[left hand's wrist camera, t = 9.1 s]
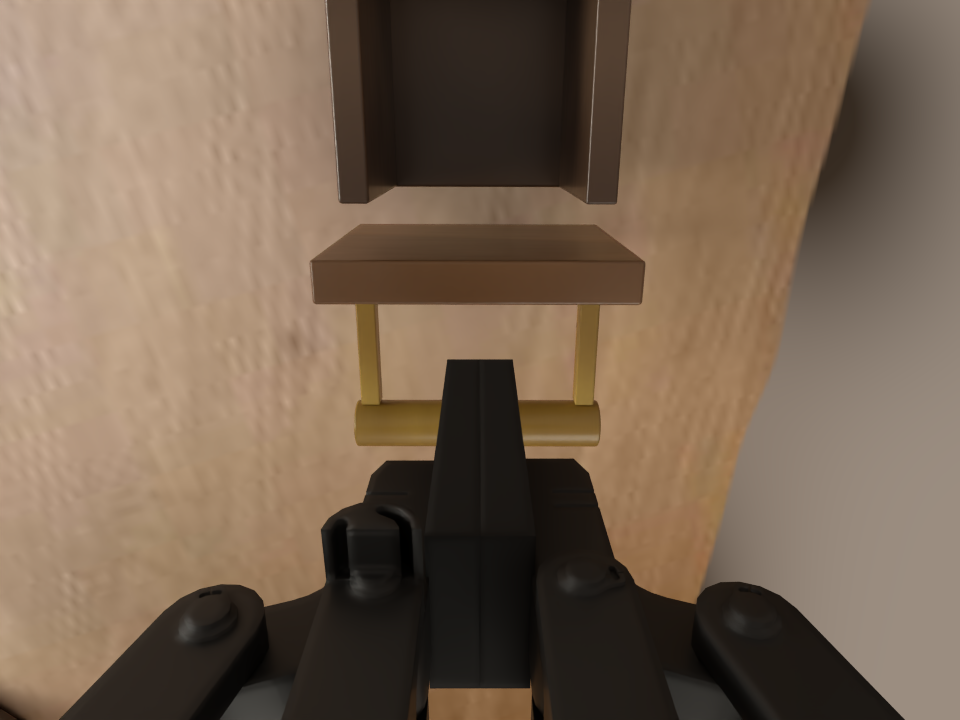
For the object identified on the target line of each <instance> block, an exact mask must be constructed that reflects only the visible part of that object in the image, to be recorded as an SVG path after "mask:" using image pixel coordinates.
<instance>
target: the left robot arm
mask: <svg viewBox="0 0 960 720" xmlns="http://www.w3.org/2000/svg"><path fill="white" fill-rule="evenodd" d="M321 535H322V544H323V553H324V563H325V572H326V583H325V586H324V587H323V588H322V589H320V590H318V591H316V592H314V593H312V594H310V595H308V596H305V597H302V598H299V599H296V600H292V601H288V602H284V603H279V604H275V605H271V606H267V607H264V604H263V600H262V599H261V598H260V597H259V595H258V594H257V593H256V592H255V591H254V590H252V589H249V588H246V587H244V586H241V585H223V584H221V585H216V586H212V587H207V588H203V589H199V590H197V591H195V592H193V593H191V594H189V595H186V596H184V597H182V598H180V599H179V600H178V601H176V602H175V603H174V604H173V605H171V606H170V607H169V608H168V609H166V610H165V611H164V612H163V613H162V614H161V615H160V616H159V617H158V618H157V619H156V620H155V621H154V622H153V623H152V624H151V625H150V626H149V627H148V628H147V629H146V630H145V631H144V633H143V634H142V635H141V636H140V637H139V638H138V639H137V640H136V641H135V642H134V643H133V644H132V645H131V646H130V647H129V648H128V649H127V650H126V651H125V652H124V653H123V654H122V655H121V656H120V657H119V658H118V659H117V660H116V661H115V663H114V664H113V665H112V666H111V667H110V668H109V669H108V670H107V671H106V672H105V673H104V674H103V675H102V676H101V677H100V678H99V679H98V680H97V681H96V682H95V683H94V684H93V685H92V686H91V687H90V688H89V689H88V690H87V692H86V693H85V694H84V695H83V696H82V697H81V698H80V699H79V700H78V701H77V702H76V703H75V704H74V705H73V706H72V707H71V708H70V709H69V710H68V711H67V712H66V713H65V714H64V715H63V716H62V717H61V718H60V719H59V720H429V706H428V690H429V679H430V688H530V679H531V687H532V706H531V720H905V719H904V718H903V717H902V716H901V715H900V714H899V713H898V712H897V711H896V710H895V709H894V708H893V707H892V706H891V705H890V704H889V703H888V702H887V701H886V700H885V699H884V698H883V697H882V696H881V695H880V694H879V693H878V692H877V691H876V690H875V689H874V688H873V687H872V686H871V685H870V683H869V682H868V681H866V679H865V678H864V677H863V676H862V675H861V674H860V673H859V672H858V671H857V670H856V669H855V668H854V667H853V666H852V665H851V664H850V663H849V662H848V661H847V660H846V659H845V658H844V657H843V656H842V655H841V654H840V653H839V652H838V651H837V650H836V649H835V648H834V647H833V645H832V644H831V643H830V642H829V641H828V640H827V639H826V638H825V637H824V636H823V635H822V634H821V633H820V632H819V631H818V630H817V629H816V628H815V627H814V626H813V625H812V624H811V623H810V622H809V621H808V620H807V619H806V618H805V617H804V616H803V615H802V614H801V613H800V612H799V611H798V610H797V609H796V608H795V607H794V606H793V605H791V604H790V603H789V602H788V601H786V600H785V599H784V598H782V597H781V596H780V595H778V594H775V593H773V592H771V591H769V590H767V589H765V588H763V587H760V586H756V585H752V584H747V583H743V582H720V583H718V584H715V585H712V586H710V587H707V588H705V590H704V591H703V592H702V593H701V594H700V595H699V597H698V598H697V604H691V603H687V602H683V601H679V600H674V599H670V598H666V597H663V596H660V595H657V594H654V593H651V592H649V591H647V590H645V589H643V588H641V587H639V586H637V585H636V584H635V582H634V579H633V578H632V576H631V574H630V573H629V571H628V570H627V568H626V567H625V566H624V565H622V564H621V563H620V562H618V561H617V560H616V559H615V558H614V555H613V552H612V548H611V545H610V542H609V538H608V535H607V532H606V528H605V525H604V522H603V519H602V515H601V512H600V509H599V507H598V502H597V499H596V495H595V493H594V489H593V485H592V482H591V479H590V476H589V473H588V472H587V471H586V470H585V469H584V468H583V467H582V466H581V465H580V464H579V463H577V462H576V461H575V460H574V459H526V457H525V450H524V442H523V435H522V427H521V419H520V412H519V404H518V397H517V389H516V382H515V374H514V367H513V360H447V366H446V374H445V382H444V389H443V397H442V404H441V412H440V419H439V427H438V435H437V442H436V450H435V457H434V461H386V462H385V463H384V464H383V465H382V466H380V467H379V468H378V469H377V470H376V471H375V472H374V473H373V474H372V475H371V478H370V481H369V485H368V488H367V491H366V495H365V498H364V501H363V503H358V504H356V505H353V506H350V507H347V508H344V509H342V510H340V511H339V512H337V513H336V514H334V515H333V516H331V517H330V518H329V519H328V520H327V522H326V523H325V524H324V526H323V527H322V529H321ZM0 720H17V719H16V718H14V717H13V716H11V715H10V714H8V713H7V712H5V711H3V710H2V709H0Z"/></svg>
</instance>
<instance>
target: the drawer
mask: <svg viewBox="0 0 960 720" xmlns="http://www.w3.org/2000/svg"><path fill="white" fill-rule="evenodd" d="M325 10H326V24H327V39H328V54H329V68H330V83H331V97H332V112H333V127H334V141H335V156H336V170H337V185H338V200H339V202H340V203H358V204H366V203H369V202H370V201H372V200H374V199H375V198H377V197H379V196H380V195H382V194H384V193H385V192H387V191H389V190H391V189H392V188H394V187H561V188H562V189H564V190H566V191H567V192H569V193H570V194H572V195H574V196H575V197H577V198H578V199H580V200H582V201H583V202H585V203H586V204H616V203H617V194H618V180H619V166H620V152H621V138H622V124H623V110H624V96H625V82H626V68H627V54H628V40H629V26H630V12H631V0H325ZM310 273H311V285H312V297H313V302H314V303H315V304H355V306H356V322H357V338H358V354H359V369H360V385H361V400H359V401H358V402H357V405H356V409H355V418H354V433H355V440H356V443H357V445H358V446H436V442H437V435H438V427H439V419H440V412H441V404H442V400H382V380H381V361H380V341H379V322H378V304H455V305H578V310H577V328H576V347H575V365H574V383H573V400H518V404H519V412H520V419H521V427H522V435H523V442H524V446H597V445H598V443H599V440H600V431H601V420H600V410H599V405H598V403H597V401H595V400H594V386H595V371H596V356H597V341H598V326H599V311H600V305H640V304H641V303H642V297H643V286H644V274H645V262H644V261H643V260H642V259H641V258H639V257H638V256H637V255H635V254H634V253H633V252H631V251H630V250H629V249H627V248H626V247H625V246H623V245H622V244H621V243H619V242H618V241H617V240H615V239H614V238H613V237H611V236H610V235H609V234H607V233H606V232H605V231H603V230H602V229H601V228H599V227H598V226H597V225H486V224H360V225H358V226H357V227H356V228H354V229H353V230H352V231H350V232H349V233H348V234H346V235H345V236H343V237H342V238H341V239H339V240H338V241H337V242H335V243H334V244H333V245H331V246H330V247H329V248H327V249H326V250H324V251H323V252H322V253H320V254H319V255H318V256H316V257H315V258H314V259H312V260H311V261H310Z"/></svg>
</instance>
